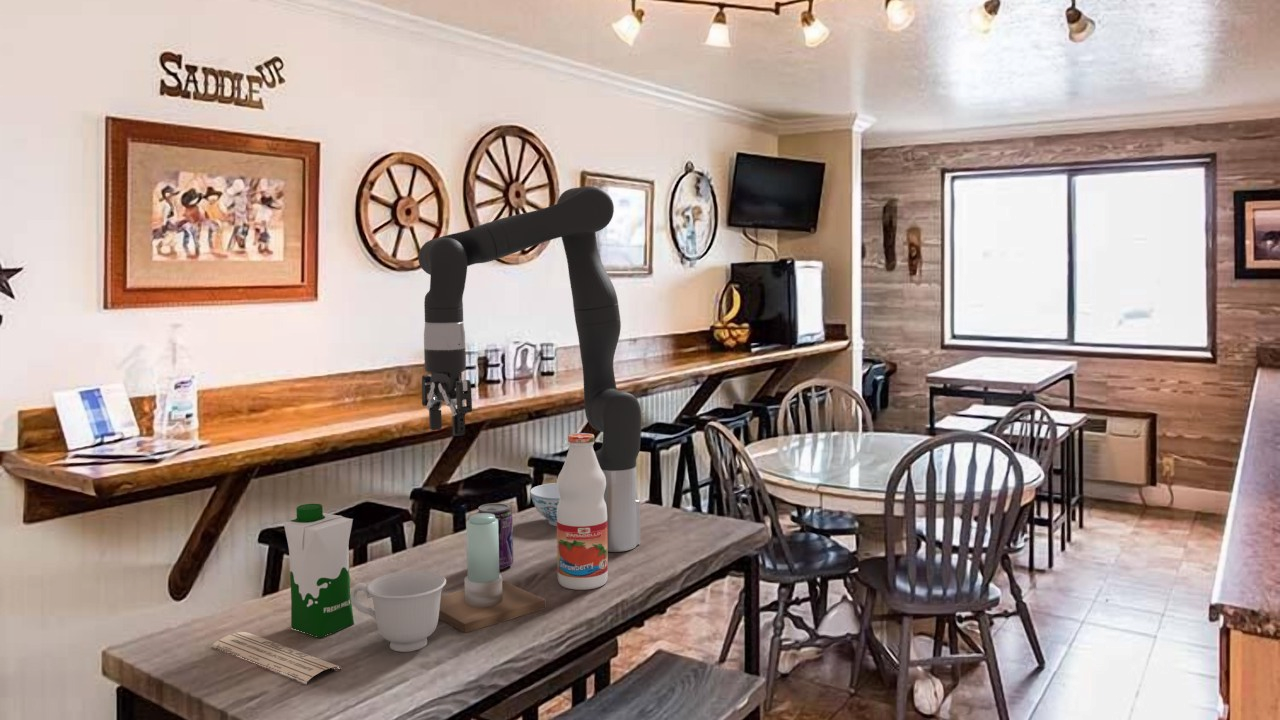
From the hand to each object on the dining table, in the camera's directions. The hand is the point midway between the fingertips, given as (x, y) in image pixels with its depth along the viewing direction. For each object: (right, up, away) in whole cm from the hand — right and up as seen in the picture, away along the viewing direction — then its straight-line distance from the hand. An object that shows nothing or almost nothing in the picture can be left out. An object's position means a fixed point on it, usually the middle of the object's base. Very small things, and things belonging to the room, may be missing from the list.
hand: (447, 432), depth 172 cm
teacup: (-2, -31, -28) cm, 42 cm away
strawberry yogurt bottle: (+25, -28, 0) cm, 38 cm away
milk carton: (-16, -31, -21) cm, 40 cm away
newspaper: (-19, -33, -32) cm, 50 cm away
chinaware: (+18, -24, +41) cm, 51 cm away
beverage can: (+8, -28, +10) cm, 30 cm away
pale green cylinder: (+9, -24, -14) cm, 29 cm away
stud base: (+9, -30, -13) cm, 34 cm away
